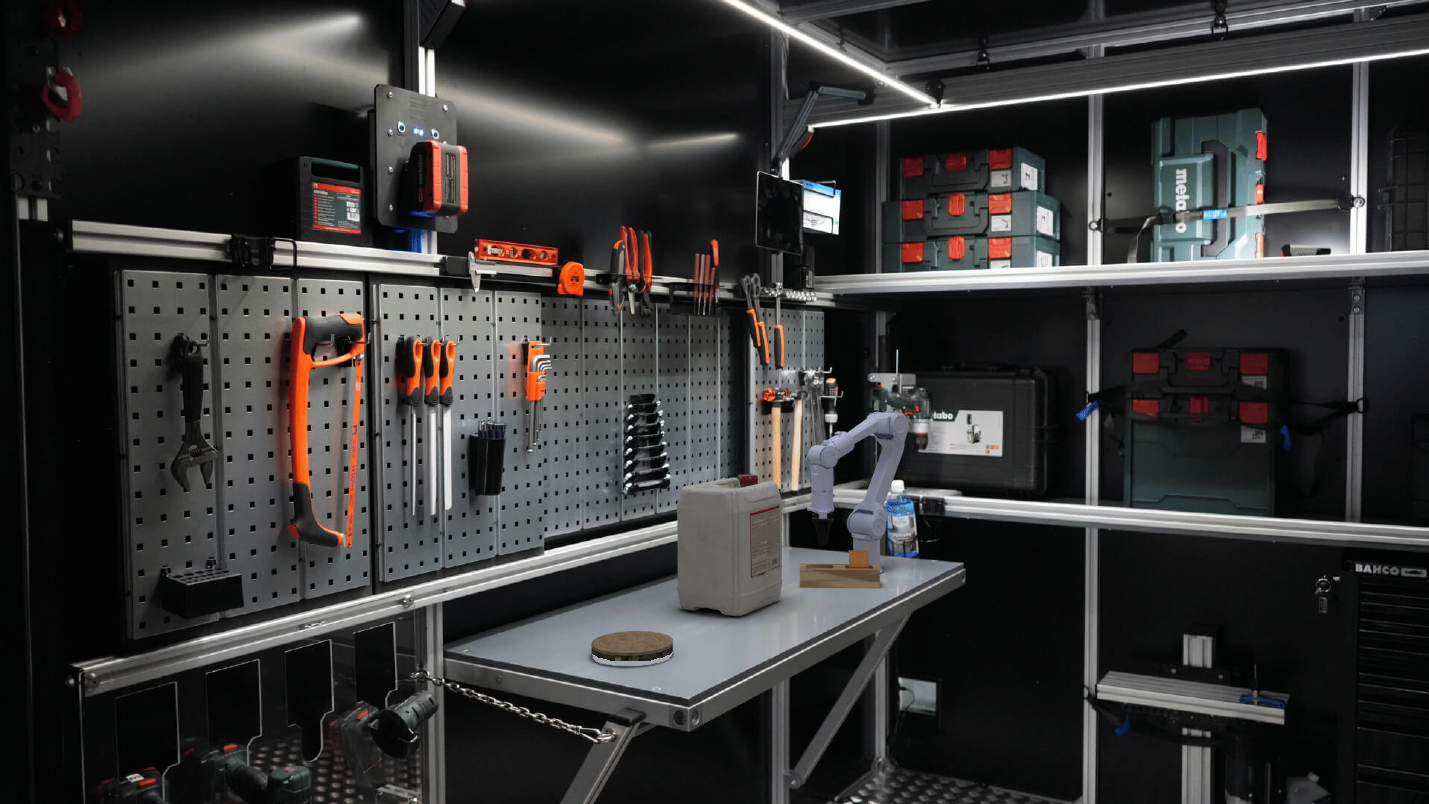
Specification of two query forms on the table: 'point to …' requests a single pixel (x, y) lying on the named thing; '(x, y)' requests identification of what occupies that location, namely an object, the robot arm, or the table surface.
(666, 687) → the table surface
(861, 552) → the orange wooden block
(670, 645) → the brown round disc
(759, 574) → the jerry can
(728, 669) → the table surface
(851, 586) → the slotted wooden block
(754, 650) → the table surface
